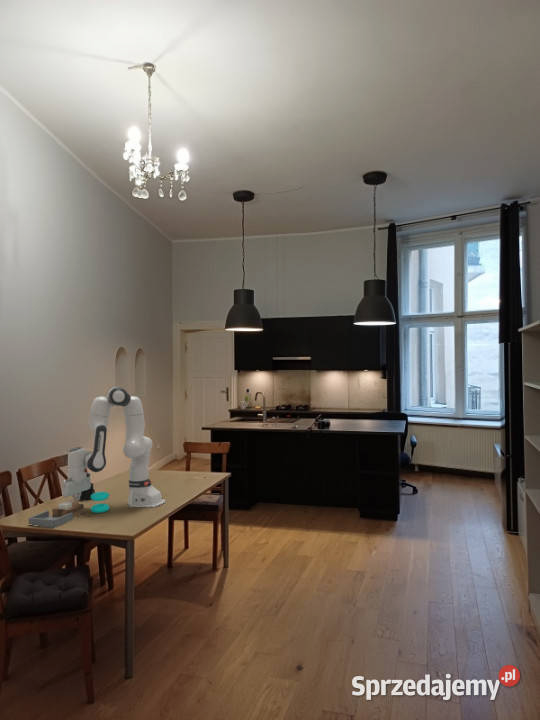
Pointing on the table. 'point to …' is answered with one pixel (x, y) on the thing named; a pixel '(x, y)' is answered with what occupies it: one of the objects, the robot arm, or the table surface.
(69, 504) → the tile front
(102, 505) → the donuts
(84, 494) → the mug
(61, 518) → the tray
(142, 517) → the table surface
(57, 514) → the bench
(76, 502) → the tile rear
